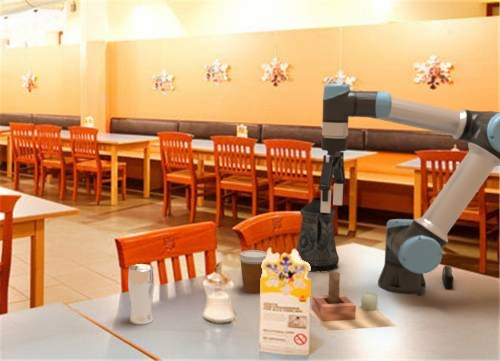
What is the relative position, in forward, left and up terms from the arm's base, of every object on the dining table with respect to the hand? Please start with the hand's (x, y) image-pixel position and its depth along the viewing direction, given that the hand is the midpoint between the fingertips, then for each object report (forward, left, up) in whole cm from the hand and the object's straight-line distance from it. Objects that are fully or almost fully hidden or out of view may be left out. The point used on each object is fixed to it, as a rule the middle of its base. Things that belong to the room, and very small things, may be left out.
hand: (331, 208), depth 184 cm
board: (-1, +16, -29) cm, 33 cm away
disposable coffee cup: (+20, -14, -29) cm, 38 cm away
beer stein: (-9, -37, -29) cm, 48 cm away
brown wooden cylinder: (+3, +13, -28) cm, 31 cm away
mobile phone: (-46, -12, -29) cm, 56 cm away
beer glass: (+56, +7, -29) cm, 63 cm away
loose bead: (-9, +10, -28) cm, 31 cm away
